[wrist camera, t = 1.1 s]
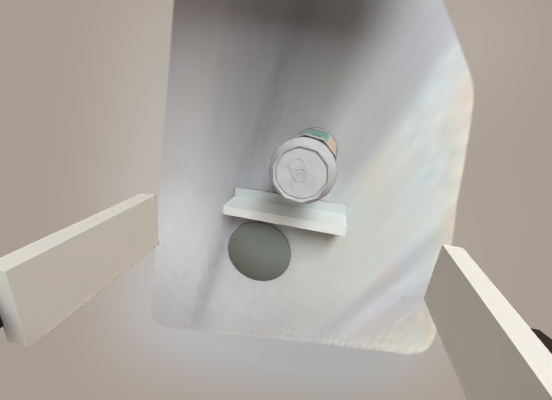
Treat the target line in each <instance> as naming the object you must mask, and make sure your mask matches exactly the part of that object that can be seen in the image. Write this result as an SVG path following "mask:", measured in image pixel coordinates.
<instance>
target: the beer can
mask: <svg viewBox="0 0 552 400" xmlns="http://www.w3.org/2000/svg"><path fill="white" fill-rule="evenodd" d="M336 156H337V144H336V141H335V139H334V138H333V136H332V135H331V134H330V133H329V132H328V131H326V130H324V129H321V128H309V129H306V130H304V131H302V132H300V133H299V134H297V135H296V136H294V137H292V138H291V139H289V140H288V141H286V142H284V143H283V144H281V145H280V146H279V147H278V148H277V149H276V151H275V153H274V154H273V156H272V158H271V161H270V166H269V174H270V179H271V182H272V184H273V186H274V188H275V190H276V191H277V192H278V193H279V194H280V195H281V196H282V197H283V198H285V199H287V200H288V201H291V202H294V203H298V204H308V203H313V202H316V201H318V200H320V199H322V198H323V197H324V196H326V195H327V194H328V193H329V191H330V190H331V189H332V187H333V186H334V183H335V180H336V176H337V166H336Z"/></svg>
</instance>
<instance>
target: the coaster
mask: <svg viewBox="0 0 552 400" xmlns="http://www.w3.org/2000/svg"><path fill="white" fill-rule="evenodd" d="M228 251H229V256H230V259H231V261H232V263H233V264H234V266H235V267H236V268H237V269H238V270H239V271H240V272H241V273H242V274H244V275H245V276H247V277H249V278H252V279H255V280H261V281H265V280H272V279H275V278H277V277H279V276H280V275H281V274H282V273H284V271H285V270H286V269H287V267H288V265H289V262H290V257H291V252H290V246H289V244H288V241H287V239H286V238H285V236H284V235H283V234H282V233H281V232H280V231H279V230H278V229H276V228H275V227H273V226H271V225H269V224H266V223H262V222H250V223H247V224H244V225H242V226H240V227H239V228H238V229H237V230H236V231H235V232H234V233H233V234H232V236H231V238H230V241H229V246H228Z"/></svg>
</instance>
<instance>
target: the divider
mask: <svg viewBox="0 0 552 400" xmlns="http://www.w3.org/2000/svg"><path fill="white" fill-rule="evenodd" d="M347 208H348V205H345V204H339V203H333V202H327V201H321V200H318V201H316V202H313V203H308V204H298V203H294V202H291V201H288V200H287V199H285V198H283V197H282V196H281V195H280V194H278V193H272V192H266V191H260V190H254V189H248V188H242V187H236V188H235V195H234V197H233V198H232V199H230V200H229V201H228V202H227V203H226V204H224V205H223V214H226V215H231V216H237V217H242V218H247V219H253V220H258V221H264V222H269V223H275V224H280V225H286V226H291V227H297V228H302V229H308V230H313V231H318V232H324V233H329V234H335V235H340V236H345V234H346V229H347V222H346V213H347Z"/></svg>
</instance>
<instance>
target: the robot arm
mask: <svg viewBox="0 0 552 400" xmlns="http://www.w3.org/2000/svg"><path fill="white" fill-rule="evenodd" d="M157 245H159V240H158V225H157V210H156V196H155V195H151V194H146V193H140V194H138V195H136V196H133V197H131V198H129V199H127V200H125V201H123V202H120V203H118V204H116V205H114V206H112V207H110V208H107V209H105V210H103V211H101V212H99V213H97V214H94V215H92V216H90V217H88V218H86V219H84V220H81V221H79V222H77V223H75V224H73V225H71V226H68V227H66V228H64V229H62V230H60V231H58V232H55V233H53V234H51V235H49V236H47V237H45V238H43V239H40V240H38V241H36V242H34V243H31V244H29V245H27V246H25V247H23V248H21V249H18V250H16V251H14V252H12V253H10V254H8V255H6V256H3V257H1V258H0V328H1V327H2V326H3V328H4V331H5V334H6V337H7V340H8V341H9V342H12V343H16V344H19V345H22V346H25V347H29V346H30V345H32V344H33V343H34V342H36V341H37V340H38V339H39V338H41V337H42V336H43V335H44V334H46V333H47V332H48V331H49V330H51V329H52V328H53V327H54V326H56V325H57V324H58V323H60V322H61V321H62V320H63V319H65V318H66V317H67V316H68V315H70V314H71V313H72V312H74V311H75V310H76V309H77V308H79V307H80V306H81V305H82V304H84V303H85V302H86V301H88V300H89V299H90V298H91V297H93V296H94V295H95V294H96V293H98V292H99V291H100V290H101V289H103V288H104V287H105V286H106V285H108V284H109V283H110V282H112V281H113V280H114V279H115V278H117V277H118V276H119V275H120V274H122V273H123V272H124V271H126V270H127V269H128V268H129V267H131V266H132V265H133V264H134V263H136V262H137V261H138V260H139V259H140V258H142V257H143V256H145V255H146V254H147V253H148V252H150V251H151V250H152V249H153V248H155V247H156V246H157ZM424 300H425V302H426V305H427V307H428V309H429V312H430V314H431V316H432V319H433V321H434V323H435V326H436V328H437V330H438V333H439V335H440V337H441V340H442V342H443V344H444V347H445V349H446V352H447V354H448V356H449V359H450V361H451V363H452V366H453V368H454V370H455V373H456V375H457V377H458V380H459V382H460V384H461V387H462V389H463V391H464V394H465V396H466V399H467V400H552V339H550V338H549V337H548V336H546V335H545V334H544V333H543V332H541V331H540V330H536V329H531V328H529V326H528V325H527V324H526V323H525V322H524V321H523V319H522V318H521V317H520V316H519V315H518V314H517V312H516V311H515V310H514V308H512V306H511V305H510V304H509V303H508V302H507V300H506V299H505V298H504V297H503V295H502V294H501V293H500V292H499V291H498V289H497V288H496V287H495V286H494V285H493V283H492V282H491V281H490V280H489V279H488V277H487V276H486V275H485V274H484V273H483V271H482V270H481V269H480V268H479V267H478V266H477V264H476V263H475V262H474V261H473V260H472V258H471V257H470V256H469V255H468V254H467V252H466V251H465V250H464V249H463V248H460V247H454V246H449V245H442V247H441V250H440V253H439V256H438V259H437V262H436V265H435V268H434V271H433V274H432V277H431V279H430V282H429V285H428V288H427V291H426V294H425V297H424Z"/></svg>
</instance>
